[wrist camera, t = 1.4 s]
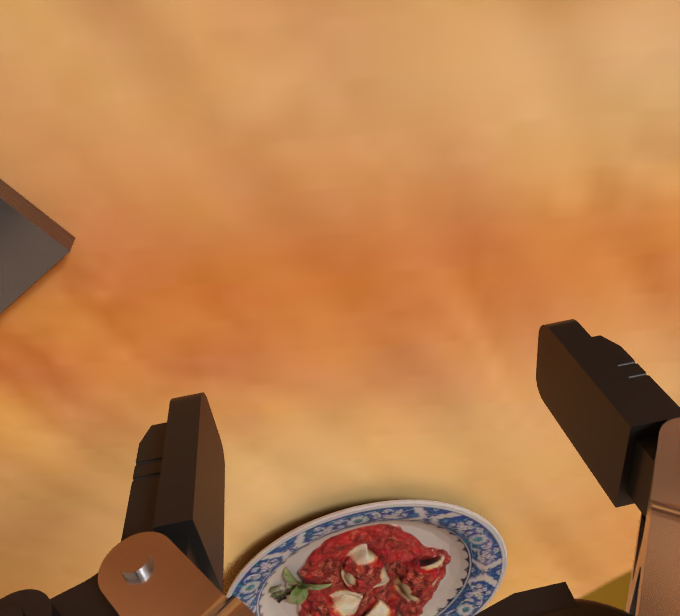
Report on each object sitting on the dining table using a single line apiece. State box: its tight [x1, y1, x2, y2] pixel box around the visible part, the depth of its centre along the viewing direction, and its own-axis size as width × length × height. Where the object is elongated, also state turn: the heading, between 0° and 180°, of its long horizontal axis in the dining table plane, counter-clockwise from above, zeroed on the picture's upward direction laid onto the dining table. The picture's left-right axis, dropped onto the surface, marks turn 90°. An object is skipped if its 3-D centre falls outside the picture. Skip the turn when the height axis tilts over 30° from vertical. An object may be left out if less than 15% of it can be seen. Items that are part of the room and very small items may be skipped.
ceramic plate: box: [226, 499, 507, 616], centre depth 53 cm, size 26×26×3 cm
